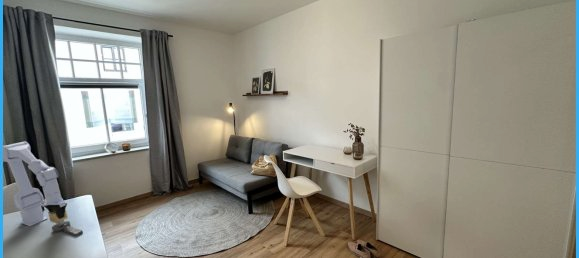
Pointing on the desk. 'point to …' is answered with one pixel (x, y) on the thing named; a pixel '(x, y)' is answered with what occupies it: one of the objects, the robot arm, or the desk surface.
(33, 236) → the desk surface
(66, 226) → the ratchet
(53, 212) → the brushed gold cube
